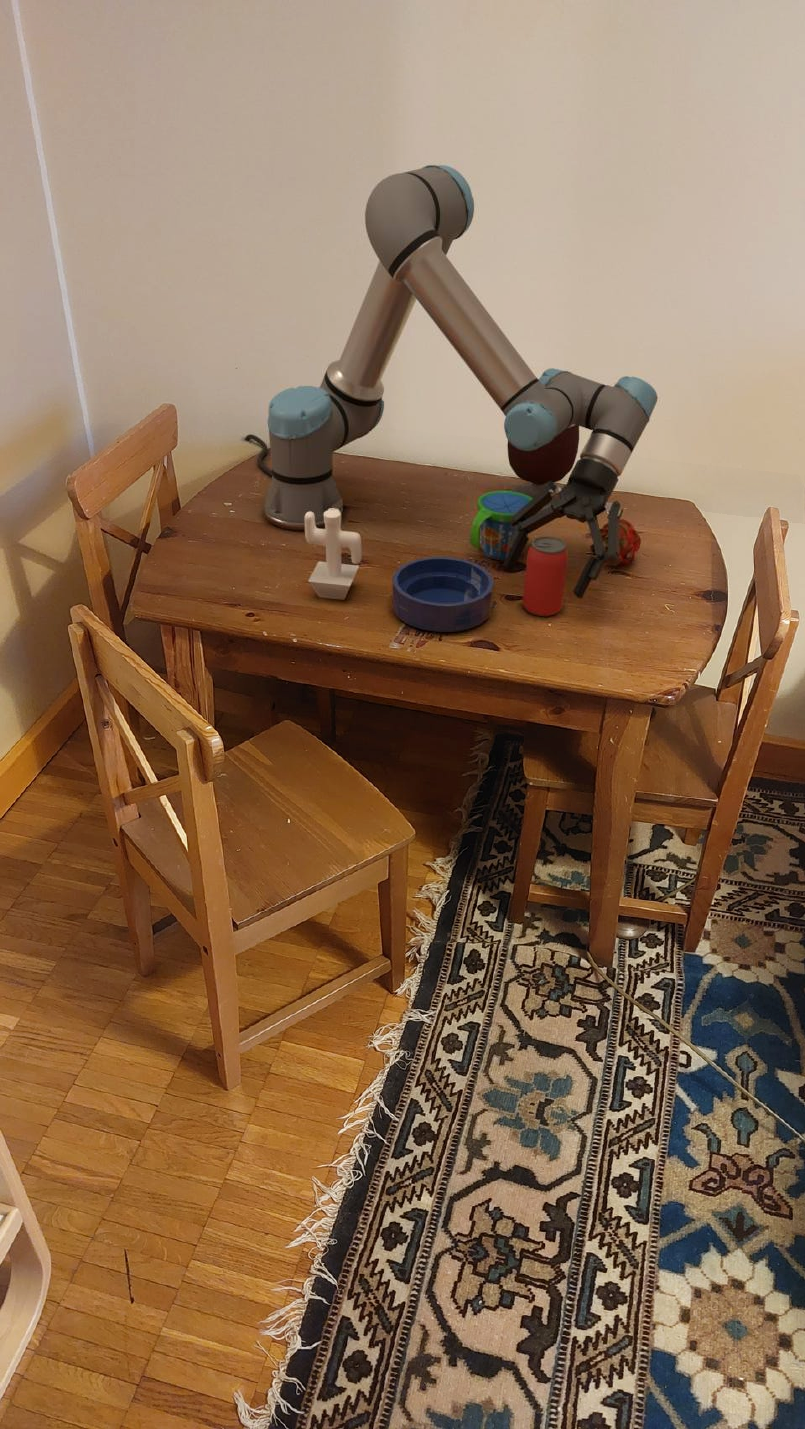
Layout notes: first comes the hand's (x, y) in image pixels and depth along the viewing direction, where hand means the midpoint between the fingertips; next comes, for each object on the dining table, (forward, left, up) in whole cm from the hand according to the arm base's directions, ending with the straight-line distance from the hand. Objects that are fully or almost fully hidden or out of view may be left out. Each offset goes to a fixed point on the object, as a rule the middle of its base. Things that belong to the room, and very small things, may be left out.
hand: (541, 582), depth 166 cm
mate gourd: (-45, +8, -6) cm, 46 cm away
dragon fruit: (-18, +17, -6) cm, 25 cm away
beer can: (-1, +1, -6) cm, 6 cm away
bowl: (-1, -16, -6) cm, 17 cm away
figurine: (-7, -34, -6) cm, 35 cm away
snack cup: (-21, -3, -6) cm, 22 cm away
